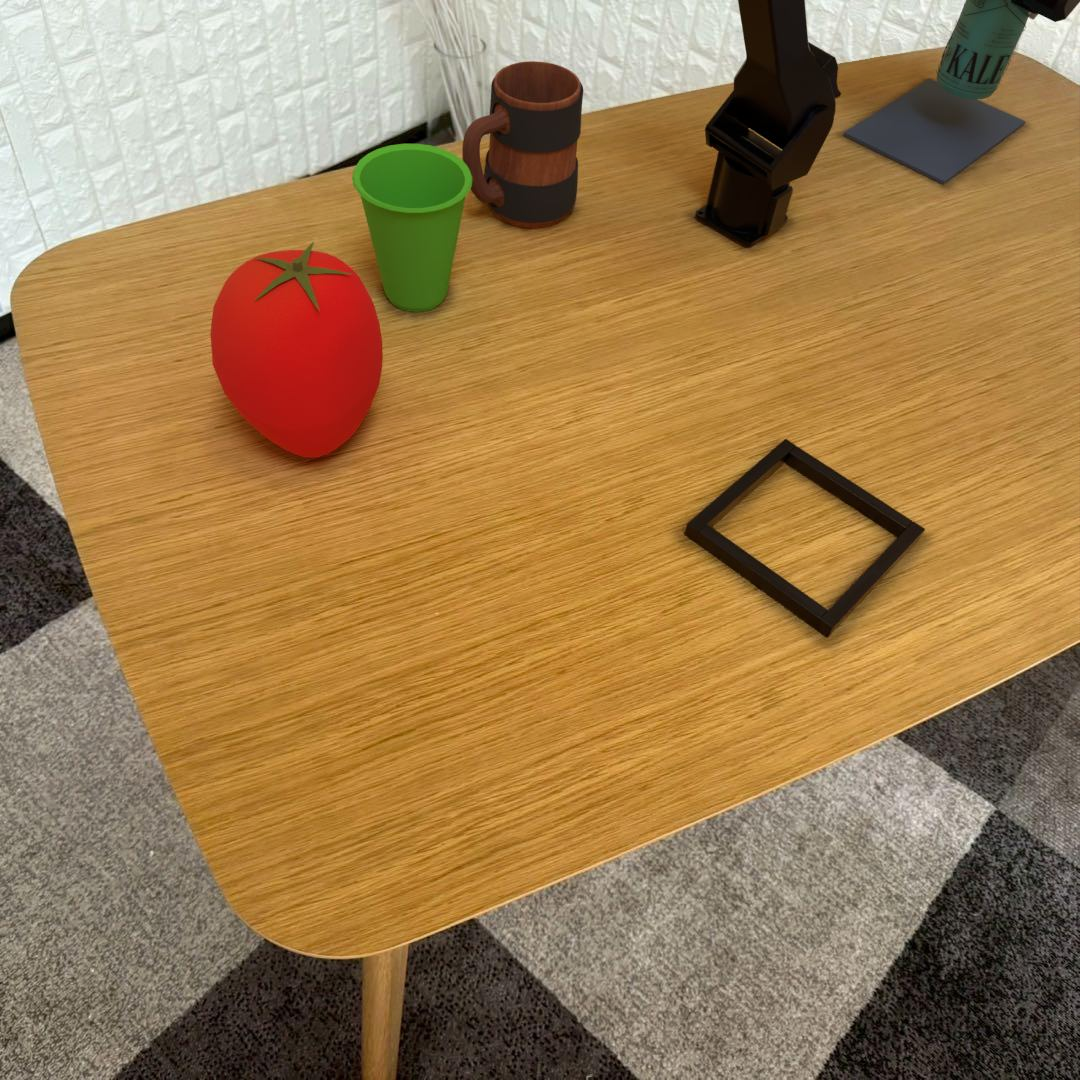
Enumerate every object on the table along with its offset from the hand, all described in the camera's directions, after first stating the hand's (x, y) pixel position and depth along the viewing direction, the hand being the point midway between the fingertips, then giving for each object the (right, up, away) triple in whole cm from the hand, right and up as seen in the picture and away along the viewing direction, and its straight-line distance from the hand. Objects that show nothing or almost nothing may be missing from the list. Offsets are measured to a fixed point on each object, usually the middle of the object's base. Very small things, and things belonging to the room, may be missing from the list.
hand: (1008, 0), depth 99 cm
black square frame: (-27, -52, -28) cm, 65 cm away
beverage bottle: (-2, -7, +7) cm, 10 cm away
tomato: (-63, -44, -24) cm, 80 cm away
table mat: (-3, -9, +10) cm, 13 cm away
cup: (-56, -32, -14) cm, 66 cm away
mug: (-48, -22, -5) cm, 53 cm away
